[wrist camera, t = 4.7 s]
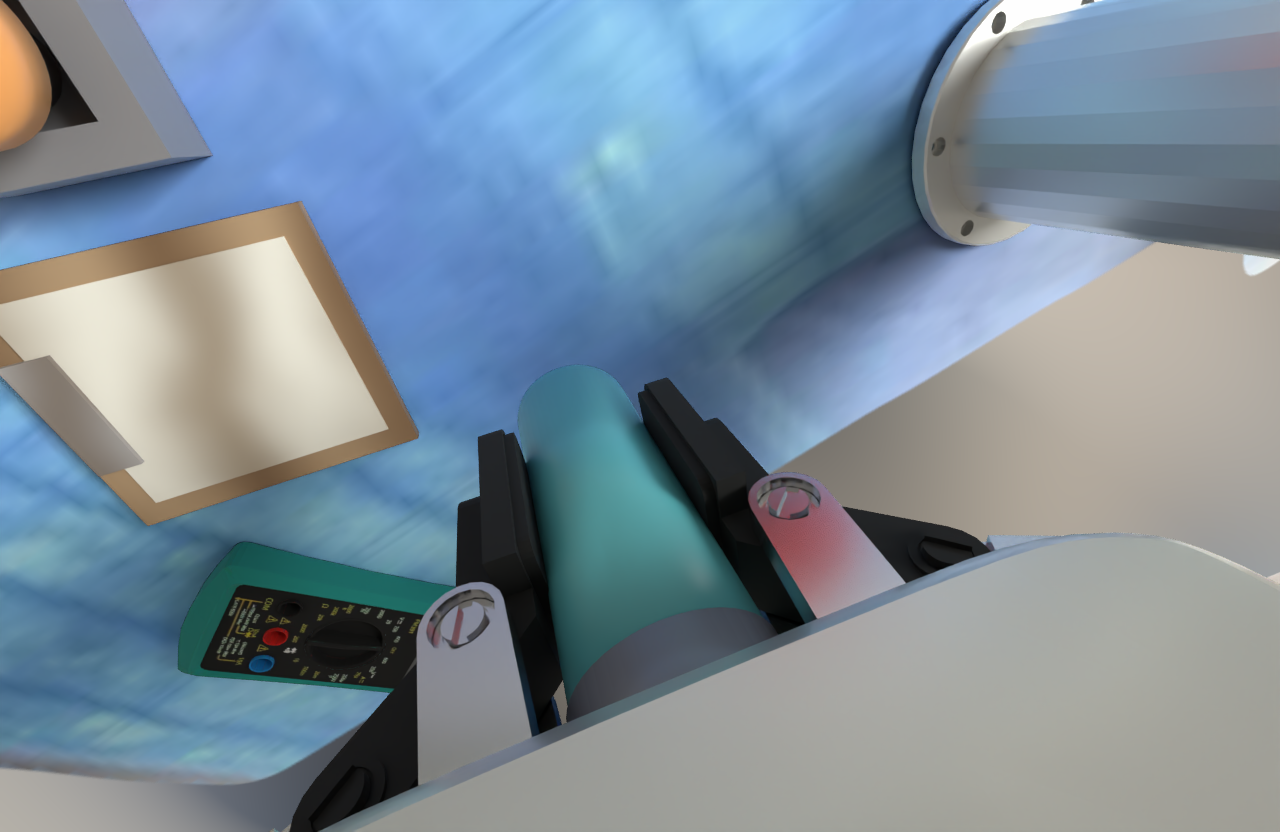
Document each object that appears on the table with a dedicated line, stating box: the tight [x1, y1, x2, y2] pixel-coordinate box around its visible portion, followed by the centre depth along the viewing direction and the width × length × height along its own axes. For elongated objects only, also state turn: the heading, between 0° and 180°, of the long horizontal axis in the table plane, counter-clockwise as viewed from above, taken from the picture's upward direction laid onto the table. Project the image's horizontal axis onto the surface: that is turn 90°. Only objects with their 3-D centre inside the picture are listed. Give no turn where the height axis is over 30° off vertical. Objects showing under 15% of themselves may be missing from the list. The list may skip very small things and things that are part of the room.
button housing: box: [0, 0, 213, 198], centre depth 15 cm, size 6×6×3 cm
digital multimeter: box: [178, 542, 456, 693], centre depth 28 cm, size 7×15×3 cm, turn 56°
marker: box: [518, 365, 778, 722], centre depth 9 cm, size 3×3×10 cm
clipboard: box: [0, 201, 419, 526], centre depth 21 cm, size 12×11×1 cm
